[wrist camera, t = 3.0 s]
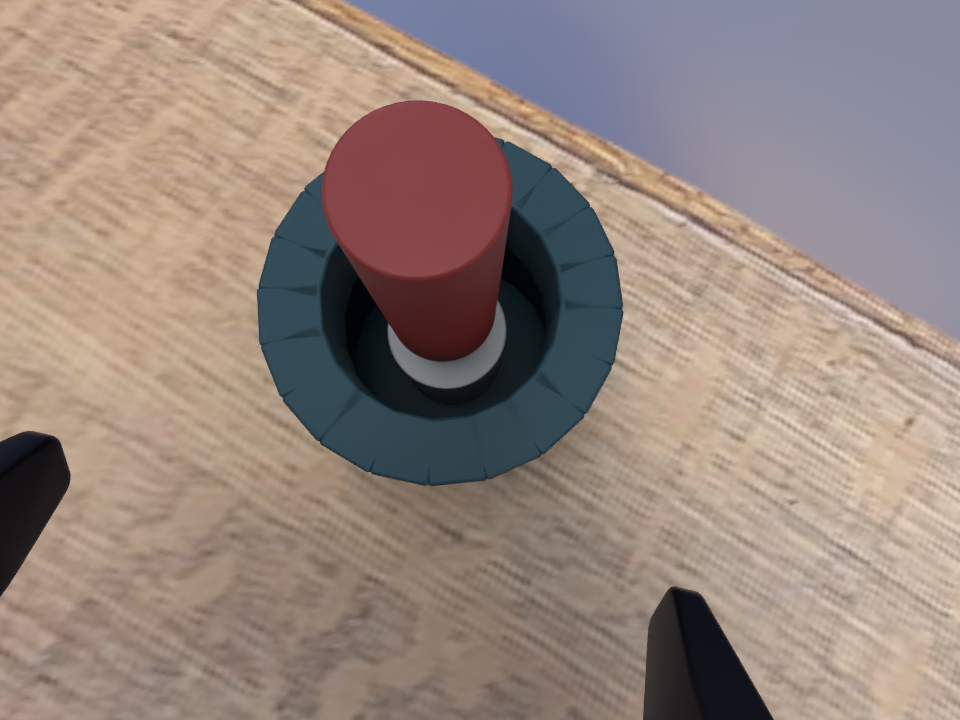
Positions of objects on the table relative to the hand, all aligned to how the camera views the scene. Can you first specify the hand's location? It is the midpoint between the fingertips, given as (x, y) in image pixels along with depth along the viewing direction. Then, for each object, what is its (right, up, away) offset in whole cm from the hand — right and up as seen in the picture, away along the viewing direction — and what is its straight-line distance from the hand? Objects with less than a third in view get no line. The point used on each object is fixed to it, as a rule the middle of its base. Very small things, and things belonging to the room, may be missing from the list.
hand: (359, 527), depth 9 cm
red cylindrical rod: (+1, +2, +12) cm, 12 cm away
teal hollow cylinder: (+1, +2, +13) cm, 13 cm away
